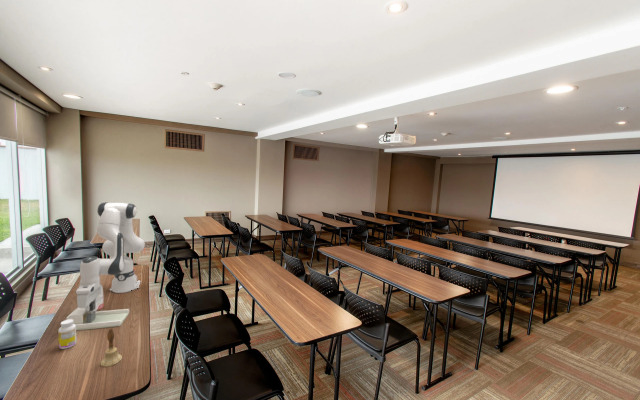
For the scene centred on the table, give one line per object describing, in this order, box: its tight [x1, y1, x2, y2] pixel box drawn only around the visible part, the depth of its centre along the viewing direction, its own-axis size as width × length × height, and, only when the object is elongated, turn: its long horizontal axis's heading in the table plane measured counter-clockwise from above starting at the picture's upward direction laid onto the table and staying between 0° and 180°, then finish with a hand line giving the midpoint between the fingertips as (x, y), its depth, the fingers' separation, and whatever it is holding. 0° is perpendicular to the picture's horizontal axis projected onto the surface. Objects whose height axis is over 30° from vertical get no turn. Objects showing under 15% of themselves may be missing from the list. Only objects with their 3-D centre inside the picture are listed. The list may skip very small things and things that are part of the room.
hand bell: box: [100, 327, 123, 368], centre depth 129 cm, size 8×8×16 cm
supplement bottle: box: [57, 319, 77, 350], centre depth 138 cm, size 7×7×13 cm
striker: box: [87, 302, 96, 323], centre depth 160 cm, size 5×3×11 cm, turn 18°
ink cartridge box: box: [93, 285, 105, 312], centre depth 174 cm, size 9×5×15 cm, turn 168°
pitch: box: [66, 306, 130, 331], centre depth 161 cm, size 15×26×8 cm, turn 108°
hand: (90, 307), depth 159 cm, fingers open, 5 cm apart
